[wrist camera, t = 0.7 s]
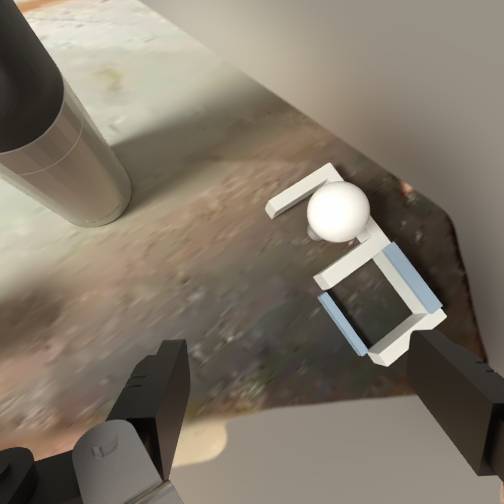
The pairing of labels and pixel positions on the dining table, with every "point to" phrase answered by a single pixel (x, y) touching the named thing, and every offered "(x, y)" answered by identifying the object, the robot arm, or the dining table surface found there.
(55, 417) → the dining table surface
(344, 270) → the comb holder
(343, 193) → the lightbulb
